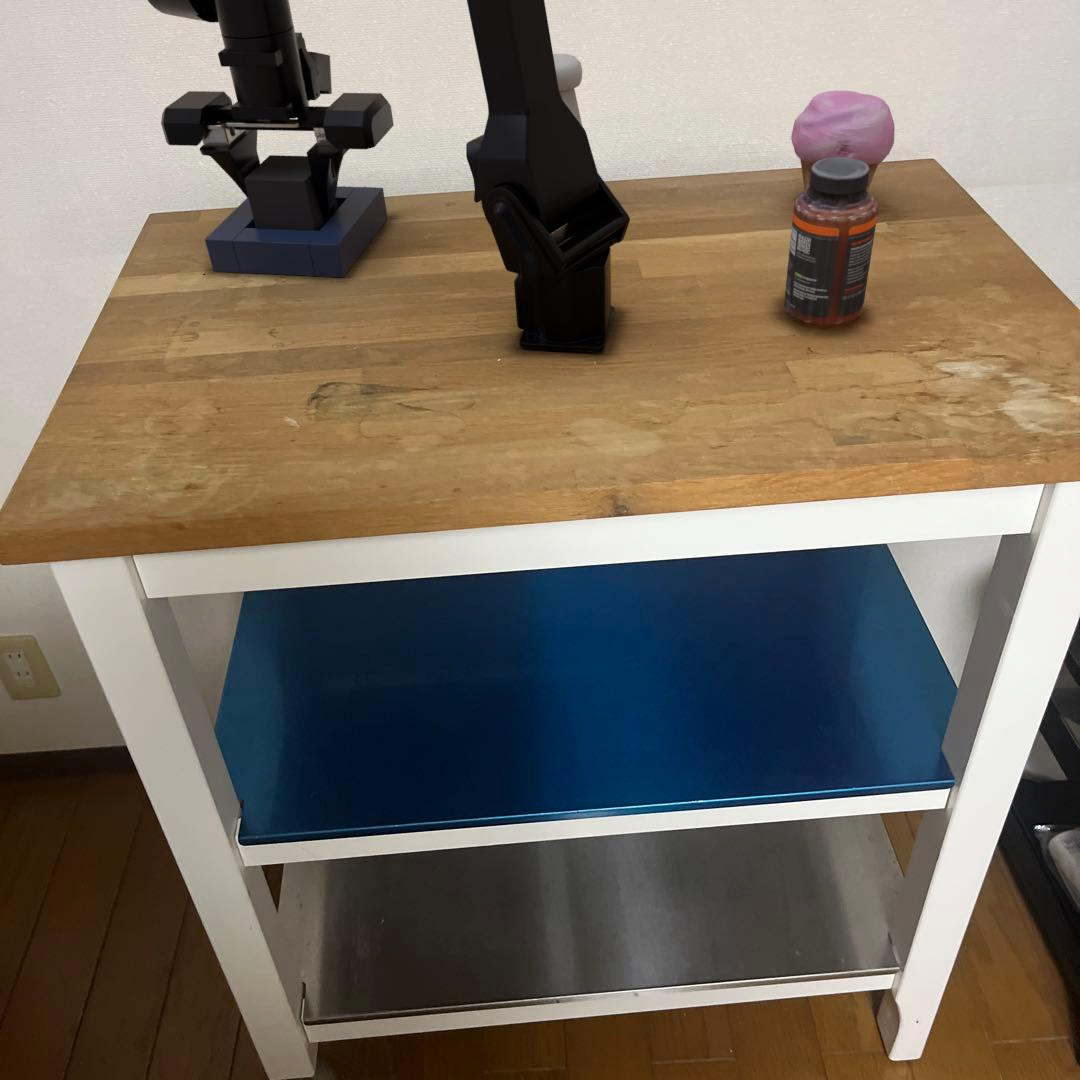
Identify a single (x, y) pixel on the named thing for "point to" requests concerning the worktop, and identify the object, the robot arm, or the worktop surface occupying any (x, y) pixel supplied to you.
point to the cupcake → (843, 130)
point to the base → (300, 239)
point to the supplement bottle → (831, 244)
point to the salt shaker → (568, 80)
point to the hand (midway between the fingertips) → (298, 217)
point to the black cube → (284, 195)
